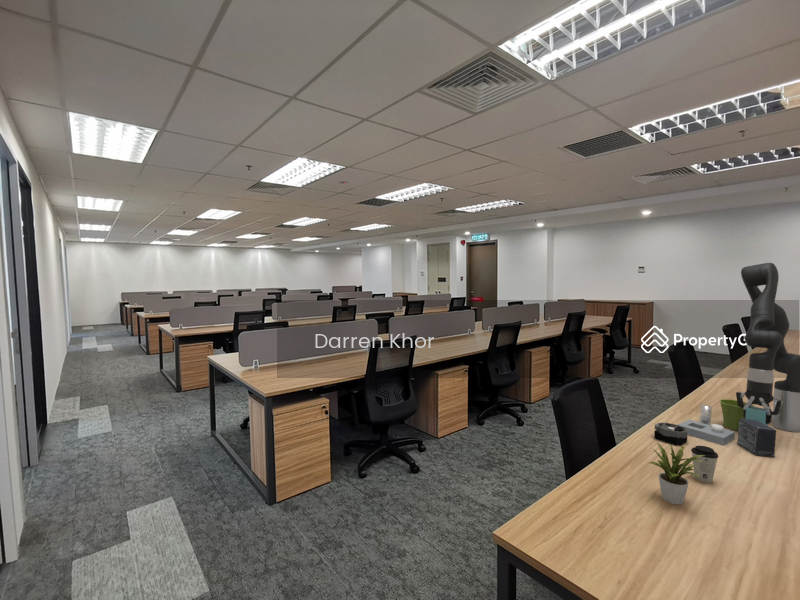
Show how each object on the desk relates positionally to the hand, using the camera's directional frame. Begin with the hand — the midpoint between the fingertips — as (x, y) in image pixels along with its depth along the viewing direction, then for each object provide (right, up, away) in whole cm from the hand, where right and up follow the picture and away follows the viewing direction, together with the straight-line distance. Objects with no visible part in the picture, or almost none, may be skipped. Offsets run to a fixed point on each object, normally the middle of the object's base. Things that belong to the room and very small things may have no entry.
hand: (757, 421), depth 151 cm
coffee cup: (-45, -10, -29) cm, 55 cm away
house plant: (-64, -10, -42) cm, 77 cm away
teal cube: (0, -1, 0) cm, 1 cm away
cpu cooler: (-34, -8, +1) cm, 35 cm away
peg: (-10, -8, +14) cm, 19 cm away
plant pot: (+4, -8, +14) cm, 17 cm away
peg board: (-16, -8, +6) cm, 19 cm away
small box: (-8, -9, -8) cm, 14 cm away
